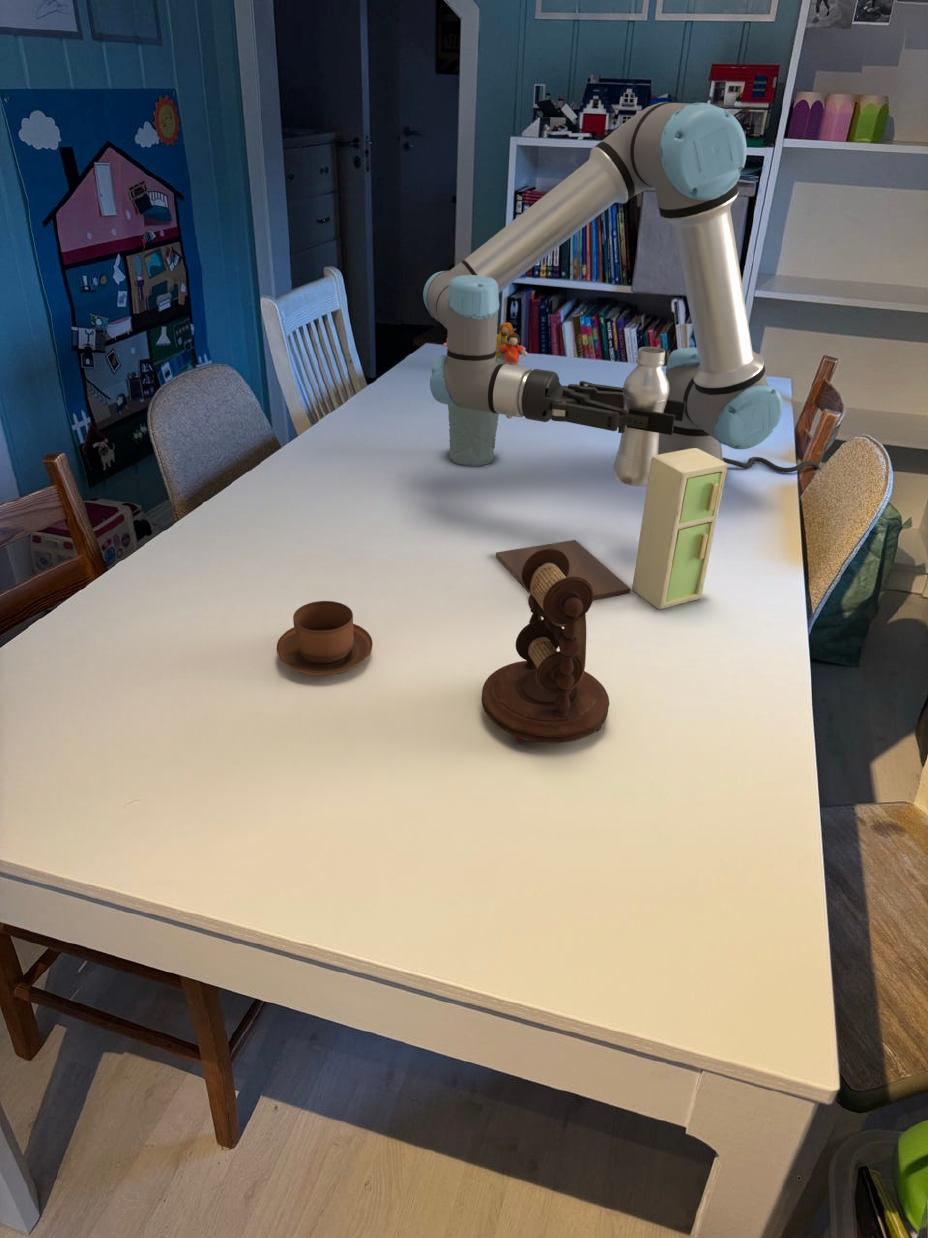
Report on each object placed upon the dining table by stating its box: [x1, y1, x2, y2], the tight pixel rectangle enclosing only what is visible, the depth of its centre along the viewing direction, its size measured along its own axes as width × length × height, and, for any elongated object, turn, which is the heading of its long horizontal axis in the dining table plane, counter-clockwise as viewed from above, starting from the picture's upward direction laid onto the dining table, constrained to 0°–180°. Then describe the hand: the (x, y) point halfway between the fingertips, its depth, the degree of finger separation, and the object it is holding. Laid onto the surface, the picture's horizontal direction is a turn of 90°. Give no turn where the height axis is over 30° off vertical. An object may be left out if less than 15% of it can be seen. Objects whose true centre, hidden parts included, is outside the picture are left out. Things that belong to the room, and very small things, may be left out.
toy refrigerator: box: [631, 448, 728, 610], centre depth 123 cm, size 8×7×21 cm
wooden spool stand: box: [481, 548, 610, 746], centre depth 99 cm, size 15×15×20 cm
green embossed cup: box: [447, 405, 500, 467], centre depth 171 cm, size 10×10×12 cm
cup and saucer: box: [275, 600, 374, 676], centre depth 111 cm, size 12×12×6 cm
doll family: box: [443, 321, 528, 366], centre depth 223 cm, size 21×10×13 cm, turn 80°
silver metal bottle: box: [613, 346, 670, 487], centre depth 129 cm, size 6×7×20 cm
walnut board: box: [495, 539, 631, 601], centre depth 133 cm, size 14×17×1 cm
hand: (678, 418), depth 127 cm, fingers closed on silver metal bottle, 6 cm apart
